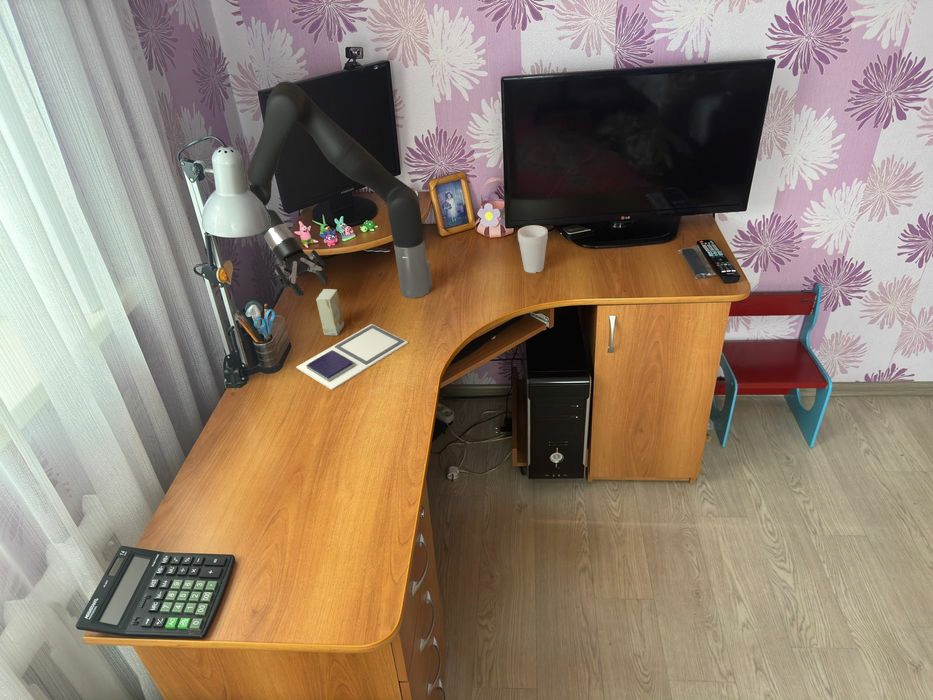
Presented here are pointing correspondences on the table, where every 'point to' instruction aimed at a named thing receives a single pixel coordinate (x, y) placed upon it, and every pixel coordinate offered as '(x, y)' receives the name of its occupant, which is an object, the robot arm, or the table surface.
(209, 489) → the table surface
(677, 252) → the table surface
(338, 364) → the ink pad
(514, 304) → the table surface
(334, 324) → the skincare box
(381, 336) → the marked board
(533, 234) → the foam cup
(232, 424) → the table surface
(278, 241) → the robot arm
